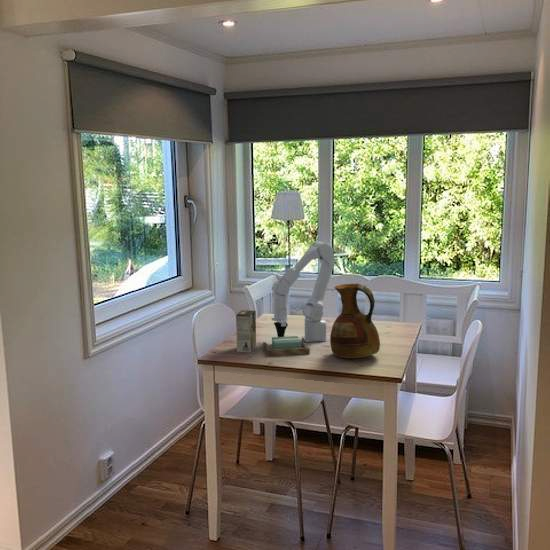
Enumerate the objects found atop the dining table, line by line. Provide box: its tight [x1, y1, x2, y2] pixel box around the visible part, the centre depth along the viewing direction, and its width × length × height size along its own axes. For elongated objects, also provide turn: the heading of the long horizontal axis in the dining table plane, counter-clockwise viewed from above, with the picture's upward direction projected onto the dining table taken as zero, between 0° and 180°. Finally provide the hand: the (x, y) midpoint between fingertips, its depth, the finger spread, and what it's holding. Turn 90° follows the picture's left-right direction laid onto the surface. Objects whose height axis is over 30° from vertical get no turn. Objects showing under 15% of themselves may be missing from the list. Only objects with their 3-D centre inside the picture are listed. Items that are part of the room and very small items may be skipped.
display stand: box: [262, 339, 311, 357], centre depth 250 cm, size 17×14×2 cm
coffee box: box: [235, 309, 257, 354], centre depth 251 cm, size 9×6×16 cm
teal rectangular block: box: [271, 335, 302, 349], centre depth 250 cm, size 11×9×5 cm
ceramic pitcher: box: [329, 283, 381, 359], centre depth 239 cm, size 20×20×30 cm
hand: (280, 338), depth 262 cm, fingers closed
